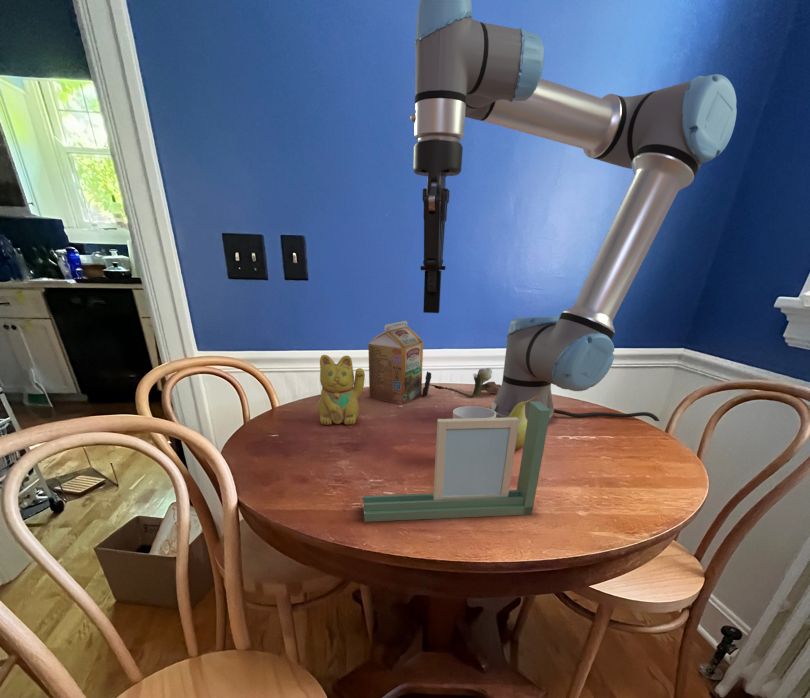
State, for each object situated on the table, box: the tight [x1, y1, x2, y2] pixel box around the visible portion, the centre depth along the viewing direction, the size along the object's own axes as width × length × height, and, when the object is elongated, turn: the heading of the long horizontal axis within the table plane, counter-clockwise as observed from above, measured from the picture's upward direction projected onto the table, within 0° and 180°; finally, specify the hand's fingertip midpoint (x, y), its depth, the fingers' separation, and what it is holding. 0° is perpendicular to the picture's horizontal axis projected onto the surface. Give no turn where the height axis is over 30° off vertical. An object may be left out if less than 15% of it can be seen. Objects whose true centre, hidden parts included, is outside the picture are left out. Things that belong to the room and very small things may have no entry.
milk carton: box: [367, 320, 424, 405], centre depth 129 cm, size 11×11×19 cm
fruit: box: [508, 396, 538, 450], centre depth 98 cm, size 7×8×12 cm
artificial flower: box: [421, 367, 502, 398], centre depth 135 cm, size 9×22×10 cm, turn 89°
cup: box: [452, 405, 496, 419], centre depth 92 cm, size 8×8×10 cm
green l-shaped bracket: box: [362, 402, 551, 523], centre depth 73 cm, size 27×4×17 cm, turn 97°
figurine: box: [317, 354, 366, 426], centre depth 112 cm, size 11×9×15 cm
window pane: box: [433, 417, 519, 500], centre depth 73 cm, size 12×1×13 cm, turn 97°
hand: (431, 312), depth 85 cm, fingers closed
